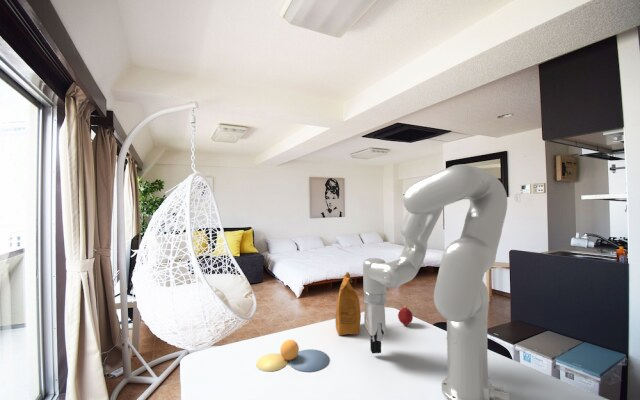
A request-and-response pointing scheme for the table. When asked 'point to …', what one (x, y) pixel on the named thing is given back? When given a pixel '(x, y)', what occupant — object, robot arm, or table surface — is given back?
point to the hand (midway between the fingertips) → (375, 351)
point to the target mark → (310, 360)
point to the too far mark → (271, 362)
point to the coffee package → (347, 309)
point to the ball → (289, 349)
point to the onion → (405, 316)
